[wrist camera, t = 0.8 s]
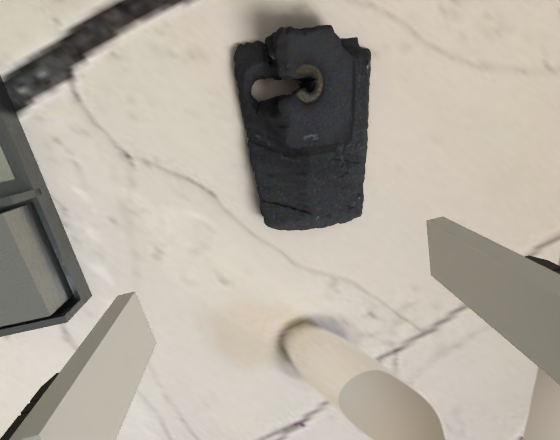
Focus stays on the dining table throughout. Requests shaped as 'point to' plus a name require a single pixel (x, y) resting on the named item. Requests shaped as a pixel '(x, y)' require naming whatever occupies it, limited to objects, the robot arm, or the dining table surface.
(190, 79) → the dining table surface
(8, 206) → the rack
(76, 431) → the robot arm
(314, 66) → the black pouch
